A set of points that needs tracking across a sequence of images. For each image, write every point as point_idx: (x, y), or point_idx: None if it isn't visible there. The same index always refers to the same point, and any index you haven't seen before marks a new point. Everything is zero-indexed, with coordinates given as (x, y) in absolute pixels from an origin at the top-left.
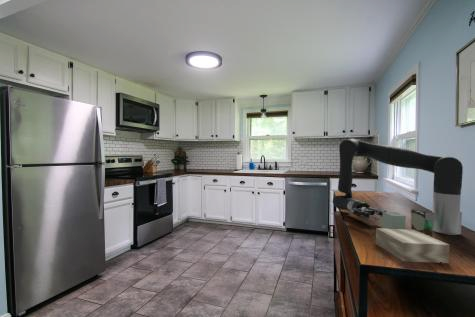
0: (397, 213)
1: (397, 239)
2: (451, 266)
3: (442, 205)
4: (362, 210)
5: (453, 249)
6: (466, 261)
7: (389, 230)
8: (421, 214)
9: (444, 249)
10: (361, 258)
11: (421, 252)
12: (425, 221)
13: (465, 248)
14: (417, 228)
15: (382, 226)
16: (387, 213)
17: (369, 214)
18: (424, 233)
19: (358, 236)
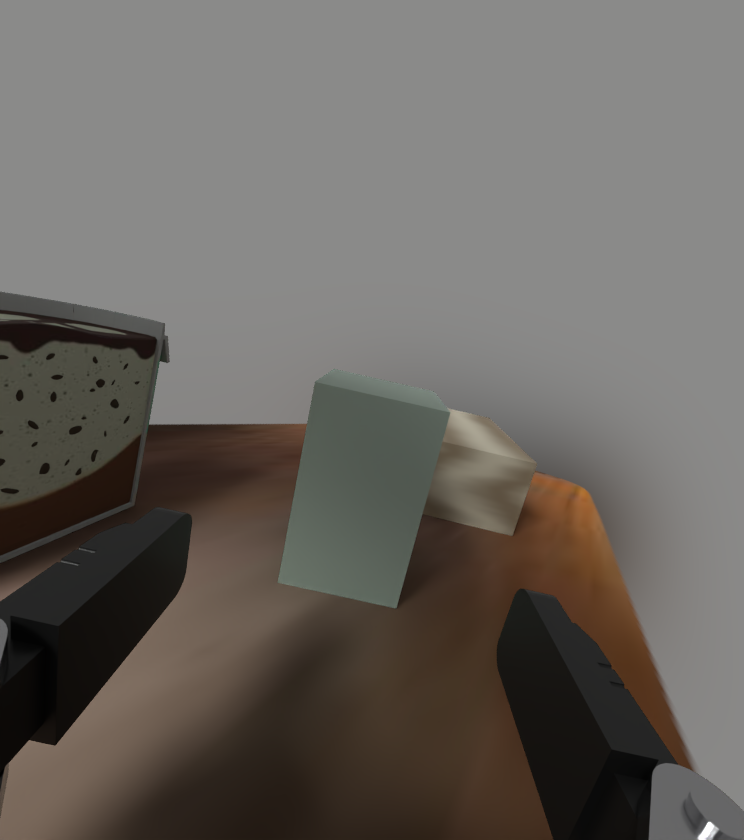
0: (336, 379)
1: (495, 424)
2: None
3: None
4: (712, 818)
5: (190, 441)
6: (285, 426)
7: (480, 443)
8: (92, 333)
9: None
10: (588, 496)
11: None
12: (153, 375)
13: None
14: (39, 485)
15: (415, 534)
16: (432, 400)
17: (514, 597)
18: (135, 463)
19: (599, 620)
